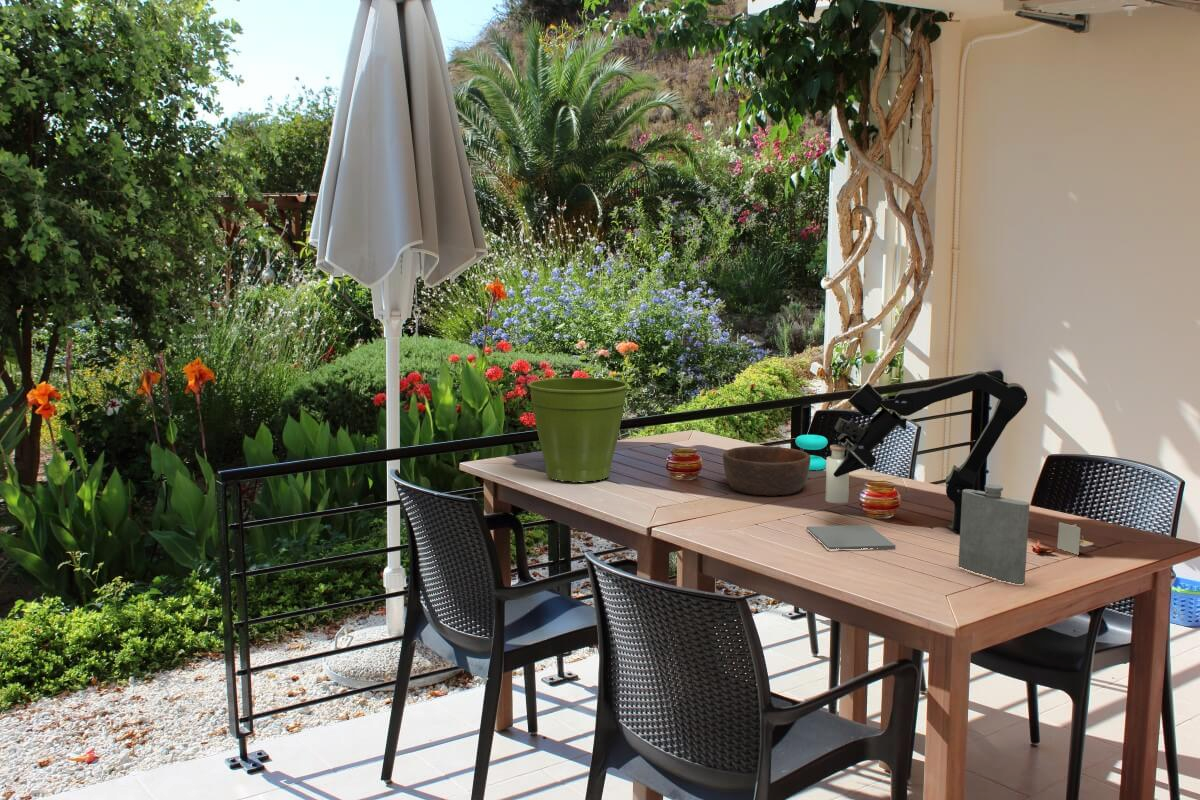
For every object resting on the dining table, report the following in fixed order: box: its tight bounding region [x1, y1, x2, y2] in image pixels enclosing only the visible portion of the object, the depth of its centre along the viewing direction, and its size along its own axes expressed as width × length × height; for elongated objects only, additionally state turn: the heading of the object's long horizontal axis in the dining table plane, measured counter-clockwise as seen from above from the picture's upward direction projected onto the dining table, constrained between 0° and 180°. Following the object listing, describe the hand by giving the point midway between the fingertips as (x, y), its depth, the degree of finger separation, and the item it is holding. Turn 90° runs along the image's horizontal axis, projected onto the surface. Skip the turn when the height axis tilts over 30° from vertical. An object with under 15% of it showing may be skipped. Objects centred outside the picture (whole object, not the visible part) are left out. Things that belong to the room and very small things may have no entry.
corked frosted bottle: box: [825, 444, 850, 504], centre depth 272 cm, size 6×6×14 cm
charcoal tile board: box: [806, 524, 897, 550], centre depth 260 cm, size 18×16×1 cm
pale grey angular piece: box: [1056, 521, 1094, 556], centre depth 249 cm, size 3×7×7 cm, turn 30°
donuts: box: [794, 434, 829, 471], centre depth 340 cm, size 10×10×10 cm
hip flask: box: [958, 484, 1030, 584], centre depth 231 cm, size 16×4×20 cm, turn 34°
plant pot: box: [528, 377, 629, 483], centre depth 325 cm, size 30×30×29 cm
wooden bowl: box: [722, 445, 811, 497], centre depth 312 cm, size 25×25×10 cm
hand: (832, 473), depth 272 cm, fingers closed on corked frosted bottle, 6 cm apart
